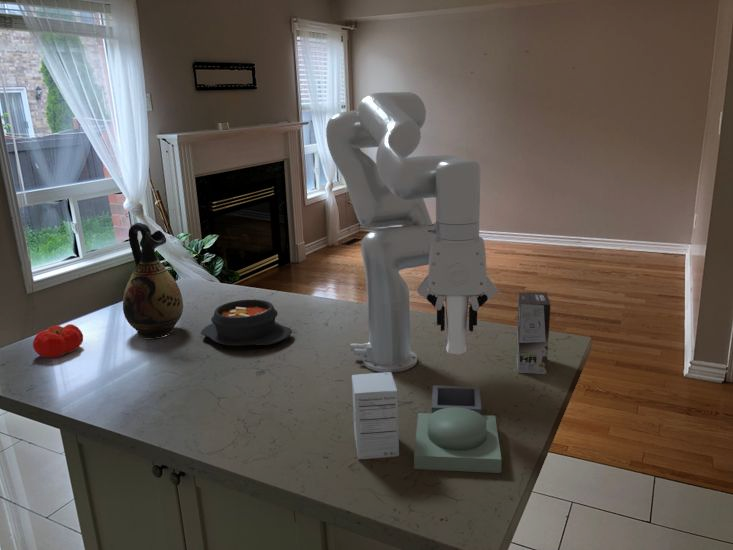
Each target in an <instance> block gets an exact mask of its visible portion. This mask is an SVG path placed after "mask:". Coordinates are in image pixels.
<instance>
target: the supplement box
mask: <svg viewBox="0 0 733 550" xmlns="http://www.w3.org/2000/svg"><path fill="white" fill-rule="evenodd" d="M351 388H352V389H351V391H352V392H351V393H352V411H353V414H352V415H353V430H354V433H353V434H354V439H355V447H356V455H357V459H358V460H368V459H382V458H391V457H392V458H394V457H399V456H400V441H399V440H400V439H399V430H400V429H399V393H398V392H399V391H398V388H397V385H396V381H395V379H394V376H393V372H392V373H391V372H373V373H372V372H371V373H359V374H352V375H351Z"/></svg>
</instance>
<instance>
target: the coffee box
mask: <svg viewBox="0 0 733 550" xmlns="http://www.w3.org/2000/svg"><path fill="white" fill-rule="evenodd" d="M517 298H518V301H517V323H516V324H517V325H516V327H517V328H516V352H515V353H516V355H515V357H516V358H515V360H516V368H517V373H518V374H536V375H546V374H547V371H548V369H547V368H548V354H549V353H548V351H549V339H550V338H549V336H550V334H549V333H550V322H551V321H550V320H551V319H550V316H551V306H552V305H551V301H550V299H549V296H548V294H547V292H540V291H537V292H535V291H533V292H532V291H531V292H526V291H525V292H521V291H519V292H518V297H517Z"/></svg>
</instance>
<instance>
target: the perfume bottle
mask: <svg viewBox="0 0 733 550" xmlns="http://www.w3.org/2000/svg"><path fill="white" fill-rule="evenodd" d="M469 300H470V296H445V297H444V301H445V312H446V313H445V315H446V316H445V318H446V329H447V344H446V348H445V349H446V353H447V354H450V355H451V354H454V355H462V354H463V353H465V352H466V351H468V349H467V345H466V334H467V322H468V314H469Z"/></svg>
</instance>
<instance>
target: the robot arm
mask: <svg viewBox="0 0 733 550" xmlns="http://www.w3.org/2000/svg"><path fill="white" fill-rule="evenodd" d="M426 113H427V112H426V106H425V103H424V102H423V99H422V98H421V97H420V96H419V95H417V94H416V93H414V92H411V91H410V92H409V91H399V92H398V91H395V92H394V91H393V92H389V91H388V92H375V93H371V94H368V95H366V96H365V97H363V98H362V99H361V101H359V104H358V106H357V110H355V109H354V110H346V111H341V112H339V113H335V114H334V115H332V116H331V117H330V118H329V119H328V121H327V124H326V129H325V130H326V132H325V134H326V137H325V138H326V143H327V148H328V151H329V154H330V156H331V159H332V161H333V162H334V164H335V166H336V167H337V168H338V171H339V172H340V173H341V175H342V178H343V179H344V182H345V185H346V188H347V191H348V194H349V198H350V201H351V204H352V207H353V210H354V214H355V216H356V219H357V221H358V223H359V224H360V226H362V227H364V228H367V229H373V230H372V231H370V232H368V233H367V234H365V236H364V237H363V238H362V239H361V245H360V253H361V257H362V261H363V265H364V266H363V267H364V272H365V281H366V299H367V320H368V321H367V323H368V324H367V325H368V341H367V342H364V343H356V342H355V343H353V342H352V343H350V352H353V354H354V356H355V355H356V356H357V355H358V356H361V355H363V357H362V364H363V365H364V366H365V367H366V368H367V369H369V370H372V371H373V372H377V373H384V372H391V373H392V374H393V373H400V372H404V371H407V370H410V369H412V368H413V367H414V366H416V364H418V363H417V362H418V356H417V353H415V352H414V351H412V350H411V326H410V325H411V323H410V322H411V318H410V317H411V316H410V313H411V312H410V310H411V309H410V289H409V286H408V283H407V282H406V280H404V278H403V277H402V276H401V275H400V273H399V271H401V270H406V269H410V268H411V269H412V268H417V267H418V268H419V267H423V266H427V265H428V274H427V275H426V276H425V278H424V279H423V281H422V282H421V283H420V285H419V286H418V287H417V291H416V292H417V294H418V295H420V296H421V297H423V298H424V299H426V300H427V301H428V302H429V303H430V304H431V305H432V306H433V308H435V310H436V326H440V332H444V331H446V330H445V327H446V326H445V325H446V323H445V322H446V320H445V319H446V316H445V315H446V313H445V312H446V305H444V301H445V296H469V300H470V303H469V306H468V331H469V332H473V333H474V326H478V311H479V310H480V308H481V306H483V305H484V304H485V303H486V302H487V301H488V300H490V299H491V298H494V296H496V295H497V294H498V288H497V287H496V285H495V284H494V283H493V281H492V280H491V278H489V276H488V275H487V273H488V272H487V254H486V245H485V240H484V238H483V237H482V236H480V215H481V214H480V209H481V208H480V207H481V205H480V204H481V167H480V163H479V162H478V161H476V160H475V159H470V158H461V157H458V156H457V155H452V154H438V155H423V156H421V155H420V156H410V155H412V154H413V153H414V152H415V150H417V148H418V147H419V146H418V145H419V144H420V141H421V138H422V136H421V128H423V127H424V124H425V122H426V121H425V120H426V117H427V114H426ZM369 148H377V151H376V155H375V156H376V157H375V160H376V161H374V160H373V159H372V158H371V157H370V156H369V155H368V154H366V153H365V152H363V151H362V149H369ZM409 156H410V157H409ZM429 198H435V222H434V223H433V221H432V218H431V215H430V213H429V211H428V207H427V205H426V202H425V200H424V199H429ZM375 228H376V229H375Z"/></svg>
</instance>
